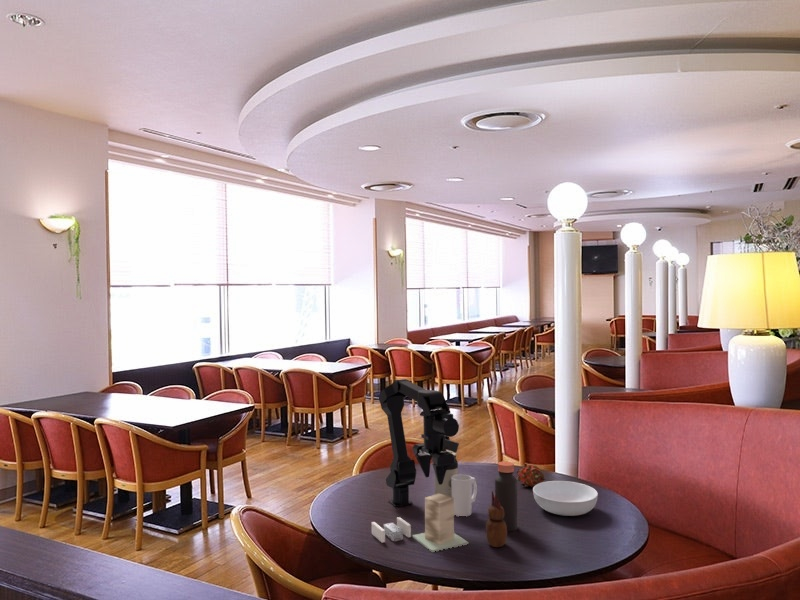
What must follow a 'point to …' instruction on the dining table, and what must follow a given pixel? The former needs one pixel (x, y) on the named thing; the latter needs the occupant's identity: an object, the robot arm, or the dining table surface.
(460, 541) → the mat
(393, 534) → the bar
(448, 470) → the travel mug
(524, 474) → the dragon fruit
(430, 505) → the block
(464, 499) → the mug
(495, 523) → the wooden figurine
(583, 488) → the serving bowl
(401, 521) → the channel
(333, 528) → the dining table surface
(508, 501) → the bottle
